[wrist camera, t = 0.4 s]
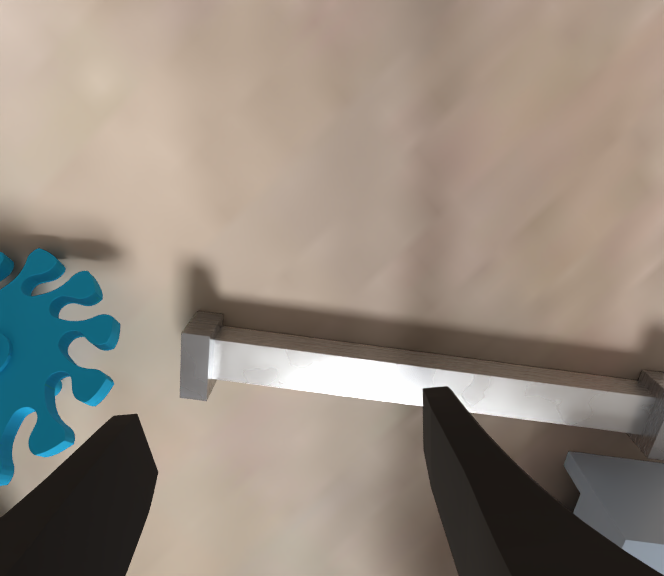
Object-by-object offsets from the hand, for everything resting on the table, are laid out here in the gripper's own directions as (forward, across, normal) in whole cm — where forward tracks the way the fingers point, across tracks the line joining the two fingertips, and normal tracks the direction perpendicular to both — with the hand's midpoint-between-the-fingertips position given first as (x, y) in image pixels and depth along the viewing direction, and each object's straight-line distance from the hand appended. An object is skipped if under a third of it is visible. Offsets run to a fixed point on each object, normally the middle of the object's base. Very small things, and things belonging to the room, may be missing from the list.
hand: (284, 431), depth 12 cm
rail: (+10, -5, +6) cm, 13 cm away
